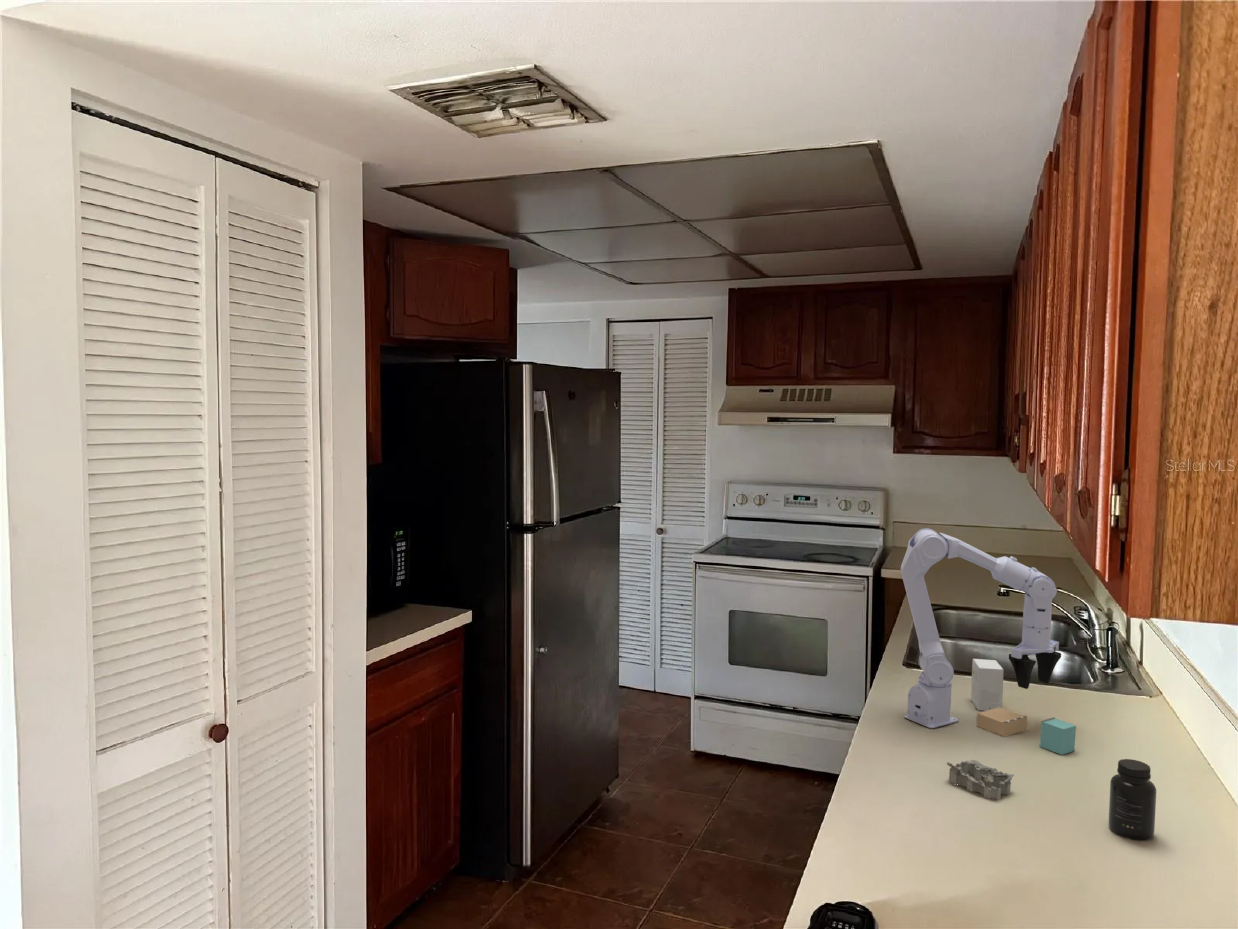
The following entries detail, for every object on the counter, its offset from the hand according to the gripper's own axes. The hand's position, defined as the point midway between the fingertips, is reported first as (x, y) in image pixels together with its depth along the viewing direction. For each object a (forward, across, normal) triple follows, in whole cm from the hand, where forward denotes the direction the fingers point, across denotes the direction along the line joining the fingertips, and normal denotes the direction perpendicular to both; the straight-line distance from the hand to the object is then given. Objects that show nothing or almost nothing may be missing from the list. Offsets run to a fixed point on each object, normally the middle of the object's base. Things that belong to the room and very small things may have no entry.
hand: (1033, 684), depth 194 cm
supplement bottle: (+10, -29, -38) cm, 49 cm away
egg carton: (+10, -37, -14) cm, 41 cm away
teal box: (+10, -6, -10) cm, 16 cm away
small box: (+10, +3, +14) cm, 18 cm away
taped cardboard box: (+10, -6, +3) cm, 12 cm away
